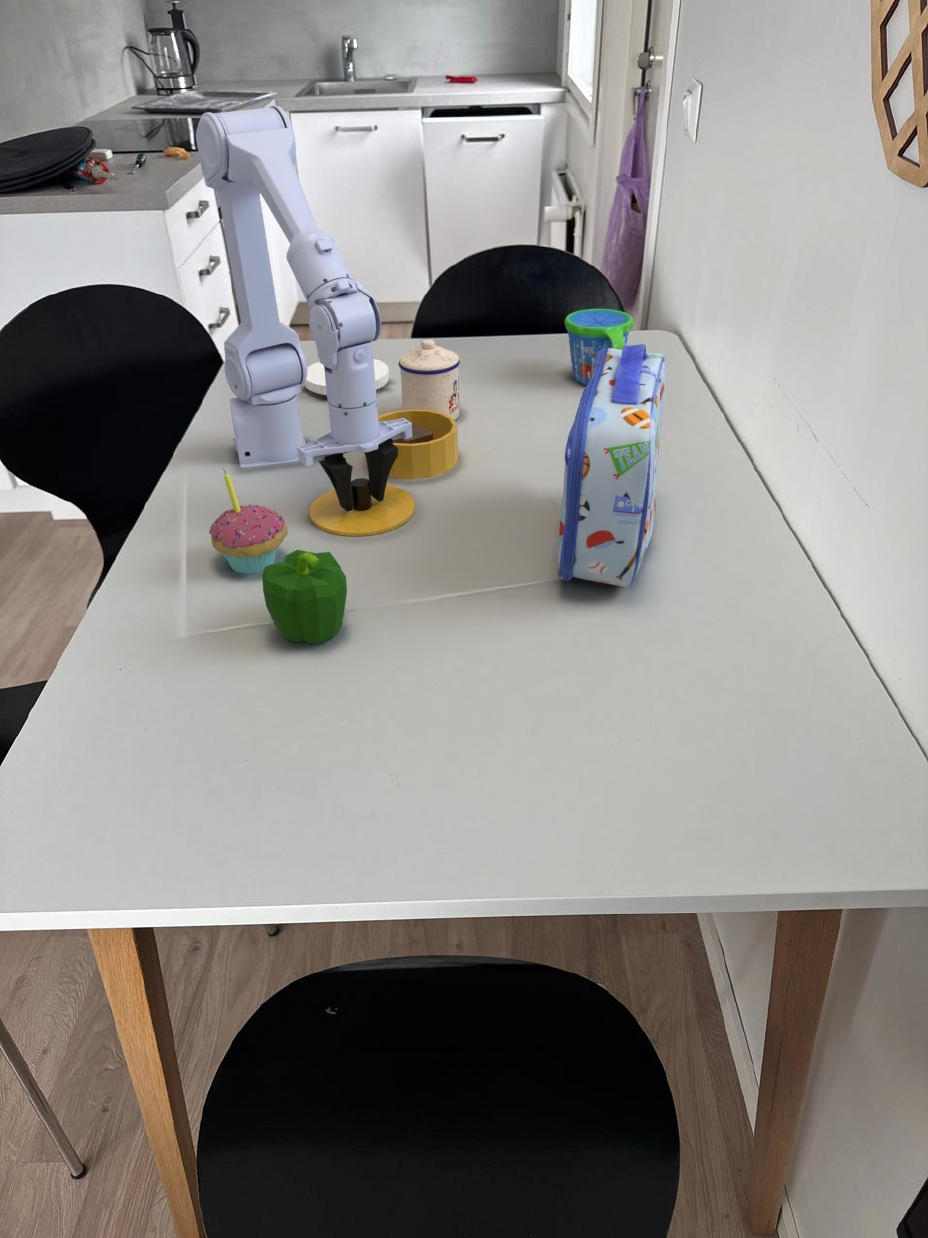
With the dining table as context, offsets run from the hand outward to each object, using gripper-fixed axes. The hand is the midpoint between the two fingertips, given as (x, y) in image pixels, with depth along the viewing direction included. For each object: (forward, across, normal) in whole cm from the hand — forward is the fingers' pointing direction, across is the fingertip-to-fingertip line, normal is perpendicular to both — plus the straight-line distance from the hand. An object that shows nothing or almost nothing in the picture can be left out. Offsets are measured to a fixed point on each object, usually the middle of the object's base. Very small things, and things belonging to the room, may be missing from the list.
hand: (362, 503), depth 118 cm
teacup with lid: (+2, +24, +23) cm, 34 cm away
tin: (+2, +13, +9) cm, 16 cm away
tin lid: (+1, 0, 0) cm, 1 cm away
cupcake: (+2, -16, -4) cm, 17 cm away
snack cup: (+2, +54, +19) cm, 57 cm away
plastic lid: (+2, +19, +41) cm, 45 cm away
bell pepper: (+2, -17, -20) cm, 26 cm away
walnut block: (+1, +13, +9) cm, 16 cm away
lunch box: (+2, +20, -23) cm, 31 cm away
